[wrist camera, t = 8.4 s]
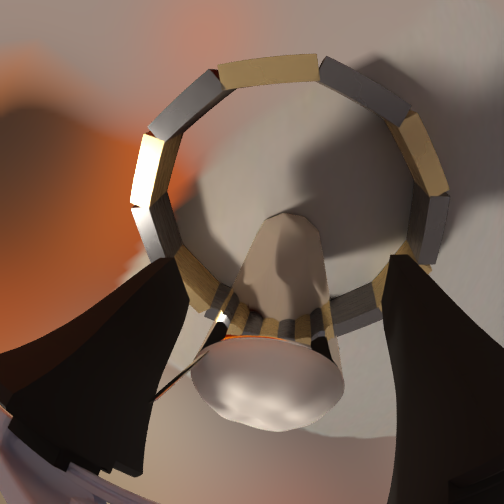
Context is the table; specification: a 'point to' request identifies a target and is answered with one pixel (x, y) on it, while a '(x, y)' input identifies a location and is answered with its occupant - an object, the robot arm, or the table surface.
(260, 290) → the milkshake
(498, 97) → the table surface
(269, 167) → the table surface
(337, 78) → the ring
